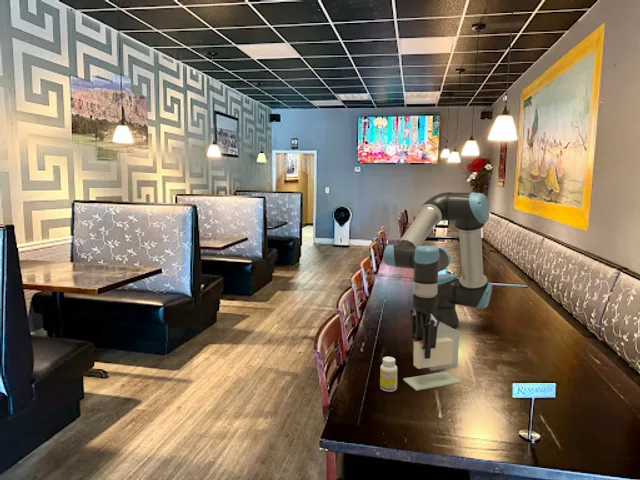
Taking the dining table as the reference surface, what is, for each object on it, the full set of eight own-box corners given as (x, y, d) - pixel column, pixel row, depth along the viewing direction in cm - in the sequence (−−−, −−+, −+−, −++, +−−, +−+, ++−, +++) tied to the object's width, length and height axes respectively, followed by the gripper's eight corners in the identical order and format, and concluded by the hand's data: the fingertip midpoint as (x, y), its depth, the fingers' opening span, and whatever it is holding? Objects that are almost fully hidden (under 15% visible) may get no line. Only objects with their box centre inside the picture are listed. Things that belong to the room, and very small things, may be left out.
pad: (446, 372, 153) (446, 371, 153) (460, 382, 146) (460, 381, 146) (403, 379, 148) (403, 378, 148) (416, 390, 140) (416, 389, 140)
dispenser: (437, 354, 170) (439, 321, 168) (457, 366, 159) (459, 331, 157) (411, 358, 166) (412, 324, 164) (429, 371, 155) (431, 335, 153)
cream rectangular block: (446, 359, 150) (447, 336, 148) (452, 363, 147) (453, 339, 146) (413, 365, 145) (414, 341, 144) (418, 368, 142) (419, 344, 141)
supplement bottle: (385, 382, 146) (386, 354, 144) (400, 387, 142) (401, 358, 141) (376, 388, 141) (377, 359, 140) (391, 393, 138) (392, 363, 137)
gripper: (401, 289, 148) (399, 357, 151) (429, 302, 133) (426, 376, 136) (421, 288, 150) (418, 354, 153) (450, 300, 135) (446, 373, 138)
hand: (422, 364), depth 144 cm, fingers closed on cream rectangular block, 3 cm apart
